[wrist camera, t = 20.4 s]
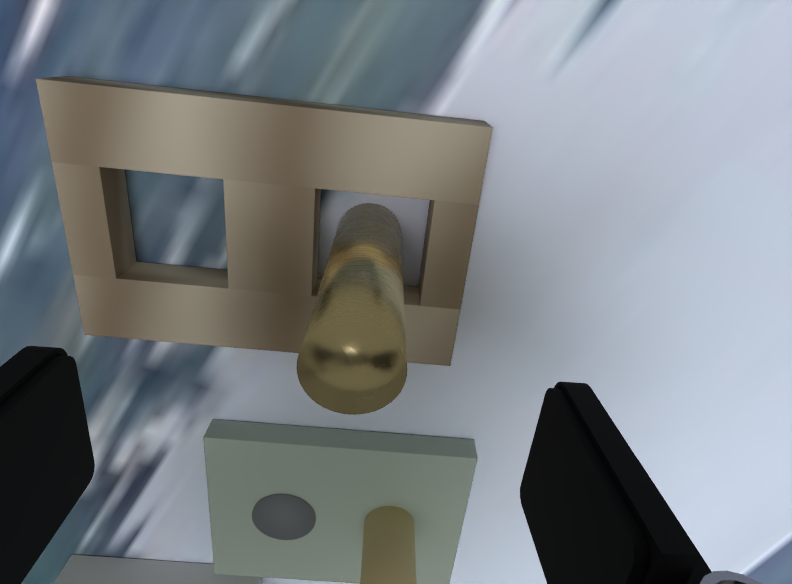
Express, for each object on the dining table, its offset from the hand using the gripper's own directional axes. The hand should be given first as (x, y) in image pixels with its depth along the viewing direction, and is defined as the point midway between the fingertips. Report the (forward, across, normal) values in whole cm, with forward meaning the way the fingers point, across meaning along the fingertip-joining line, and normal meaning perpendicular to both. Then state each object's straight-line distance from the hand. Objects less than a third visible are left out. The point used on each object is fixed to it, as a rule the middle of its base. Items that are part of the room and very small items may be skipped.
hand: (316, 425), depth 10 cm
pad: (+10, 0, +13) cm, 17 cm away
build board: (+10, +2, -1) cm, 11 cm away
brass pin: (+10, -1, -1) cm, 10 cm away
